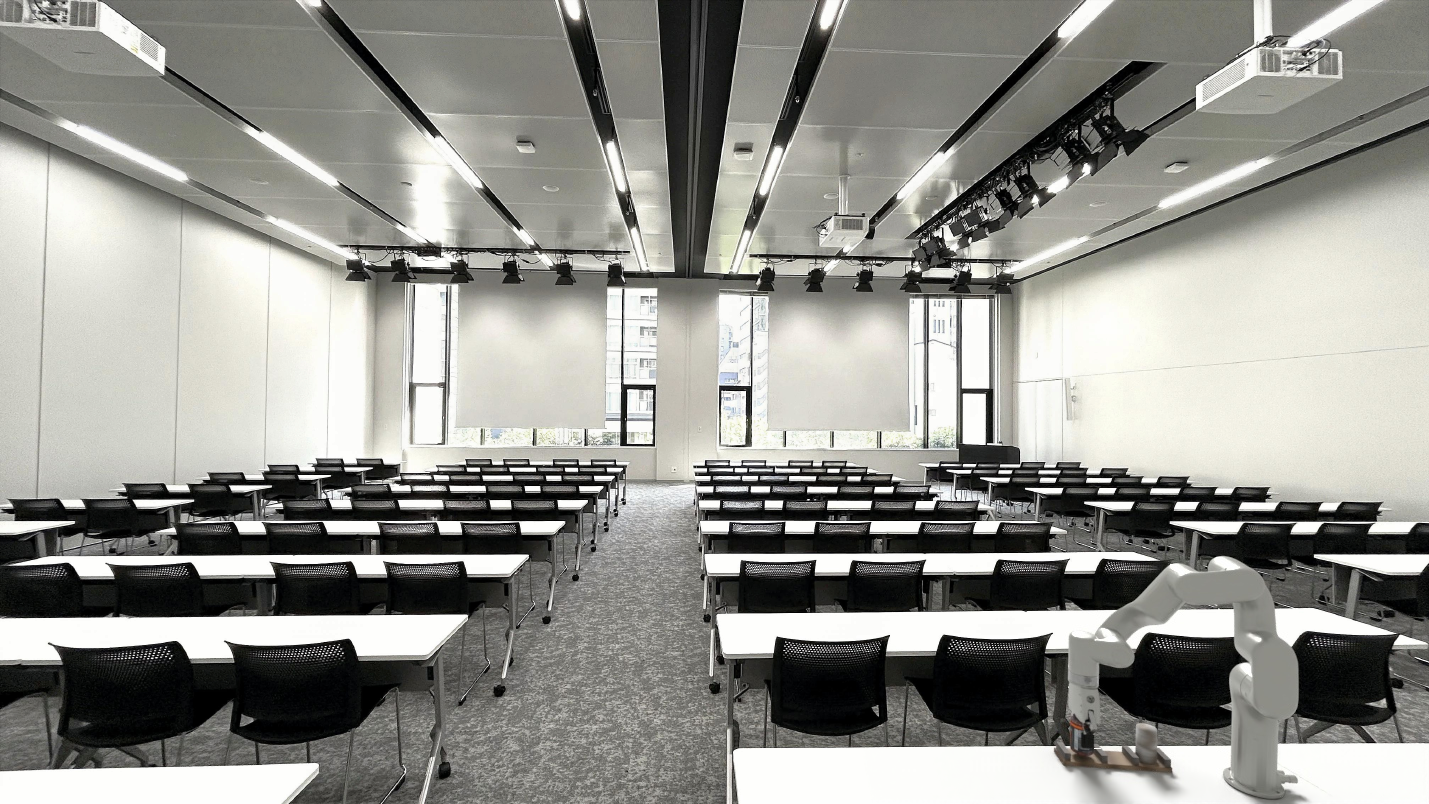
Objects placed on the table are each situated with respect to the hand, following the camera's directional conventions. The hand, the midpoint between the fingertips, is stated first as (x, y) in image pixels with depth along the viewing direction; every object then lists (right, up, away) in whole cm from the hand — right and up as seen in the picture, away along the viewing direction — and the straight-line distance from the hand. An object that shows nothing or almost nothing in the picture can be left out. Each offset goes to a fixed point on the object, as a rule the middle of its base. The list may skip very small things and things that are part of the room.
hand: (1082, 740), depth 187 cm
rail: (+8, -6, -1) cm, 10 cm away
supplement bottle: (0, -3, 0) cm, 3 cm away
